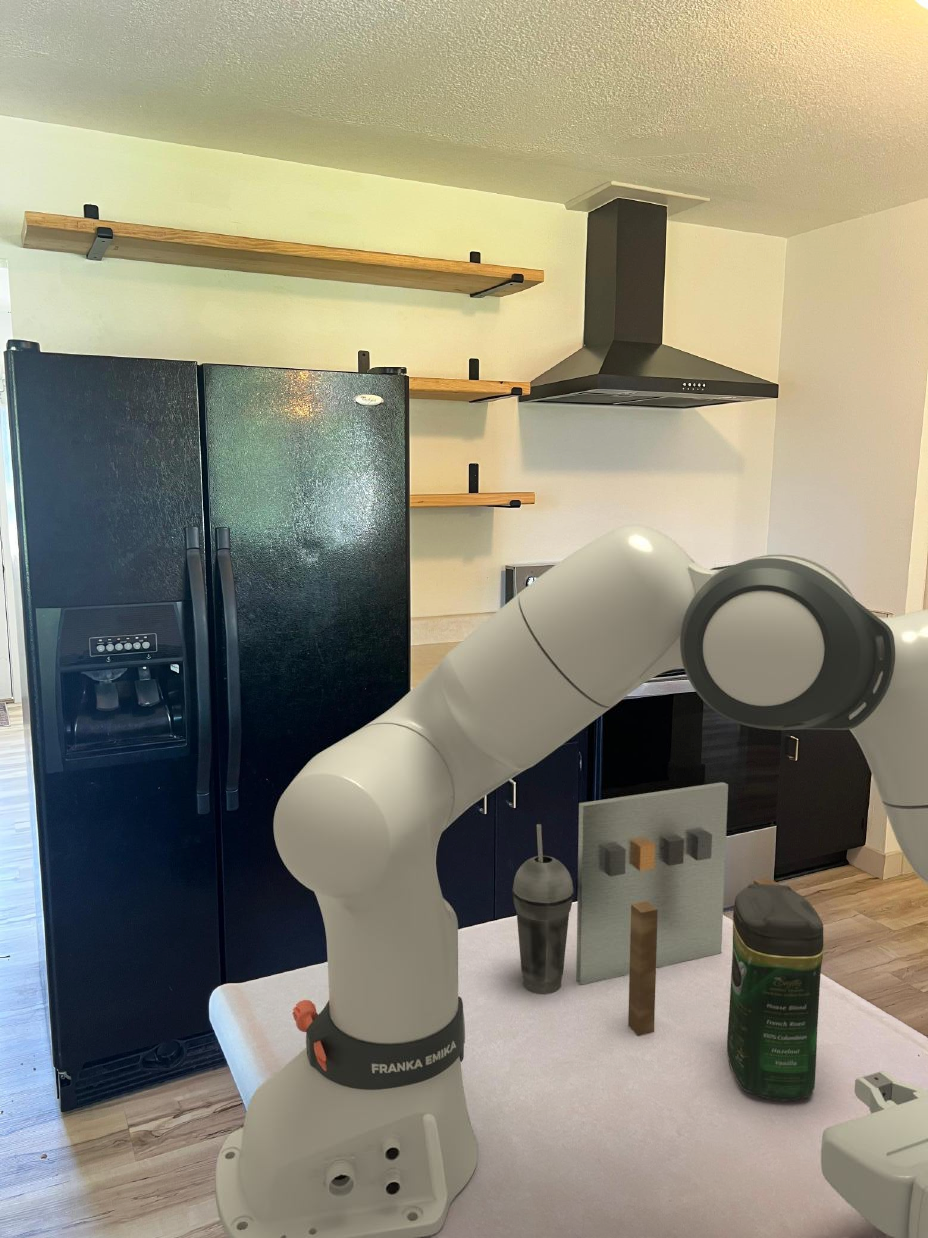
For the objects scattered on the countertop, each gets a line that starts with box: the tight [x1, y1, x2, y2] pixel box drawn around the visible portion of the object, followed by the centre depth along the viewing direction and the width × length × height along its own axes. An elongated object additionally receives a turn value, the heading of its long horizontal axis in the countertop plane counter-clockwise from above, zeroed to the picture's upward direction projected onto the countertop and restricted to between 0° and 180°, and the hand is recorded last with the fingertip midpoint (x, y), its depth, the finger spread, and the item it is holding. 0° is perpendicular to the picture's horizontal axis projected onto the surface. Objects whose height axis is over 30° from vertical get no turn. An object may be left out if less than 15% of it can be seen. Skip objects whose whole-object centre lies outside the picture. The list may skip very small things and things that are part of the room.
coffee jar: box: [726, 883, 824, 1101], centre depth 88 cm, size 10×8×19 cm
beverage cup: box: [511, 823, 575, 995], centre depth 104 cm, size 7×7×20 cm
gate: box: [627, 877, 781, 1037], centre depth 99 cm, size 18×2×14 cm, turn 111°
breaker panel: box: [575, 781, 729, 986], centre depth 107 cm, size 20×2×22 cm, turn 111°
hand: (867, 1082), depth 77 cm, fingers closed
